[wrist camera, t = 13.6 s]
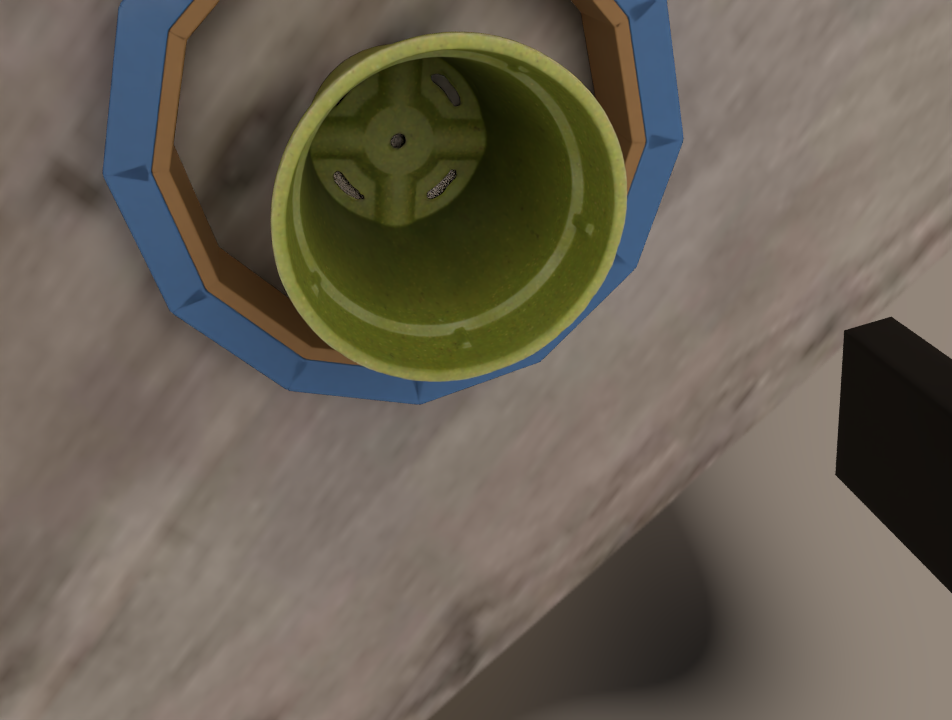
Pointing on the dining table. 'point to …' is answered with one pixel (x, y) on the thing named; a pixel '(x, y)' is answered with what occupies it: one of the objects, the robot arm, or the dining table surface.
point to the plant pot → (448, 206)
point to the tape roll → (268, 310)
